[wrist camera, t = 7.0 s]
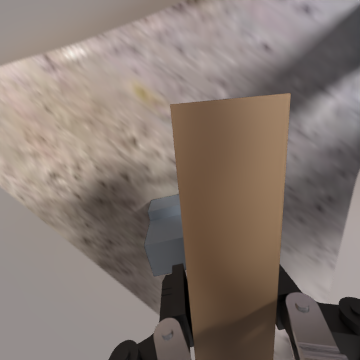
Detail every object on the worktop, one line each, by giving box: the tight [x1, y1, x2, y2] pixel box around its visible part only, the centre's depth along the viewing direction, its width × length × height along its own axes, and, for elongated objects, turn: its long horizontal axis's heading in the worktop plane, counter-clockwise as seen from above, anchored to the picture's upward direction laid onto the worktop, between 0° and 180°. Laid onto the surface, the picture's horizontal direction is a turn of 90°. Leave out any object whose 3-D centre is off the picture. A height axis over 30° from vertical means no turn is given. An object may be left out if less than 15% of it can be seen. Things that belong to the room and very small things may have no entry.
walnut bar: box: [170, 93, 291, 360], centre depth 11 cm, size 4×20×4 cm, turn 5°
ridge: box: [144, 194, 186, 276], centre depth 18 cm, size 10×5×7 cm, turn 103°
